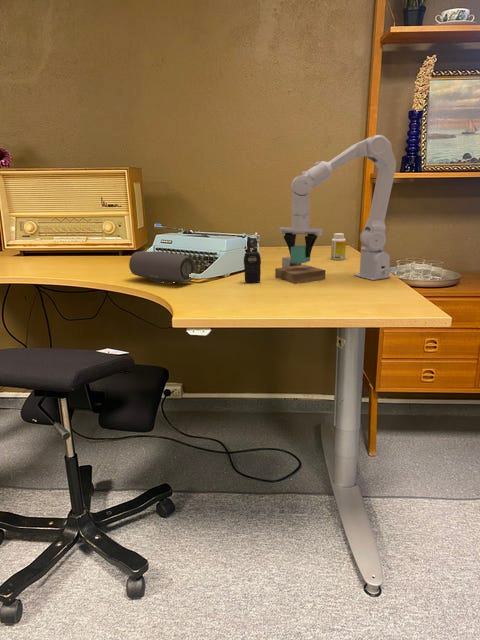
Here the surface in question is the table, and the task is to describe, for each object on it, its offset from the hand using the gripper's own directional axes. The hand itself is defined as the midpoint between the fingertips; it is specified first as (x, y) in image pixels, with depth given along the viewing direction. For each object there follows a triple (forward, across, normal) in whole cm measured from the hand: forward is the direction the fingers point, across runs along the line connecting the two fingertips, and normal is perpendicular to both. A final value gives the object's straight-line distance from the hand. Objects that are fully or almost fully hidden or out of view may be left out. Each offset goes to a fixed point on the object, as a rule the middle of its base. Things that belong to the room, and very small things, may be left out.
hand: (300, 256), depth 156 cm
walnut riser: (+7, 0, 0) cm, 7 cm away
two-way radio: (+8, +12, +11) cm, 18 cm away
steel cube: (+7, +7, -9) cm, 14 cm away
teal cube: (+2, 0, 0) cm, 2 cm away
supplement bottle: (+8, 0, -39) cm, 40 cm away
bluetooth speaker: (+8, +40, +23) cm, 47 cm away
